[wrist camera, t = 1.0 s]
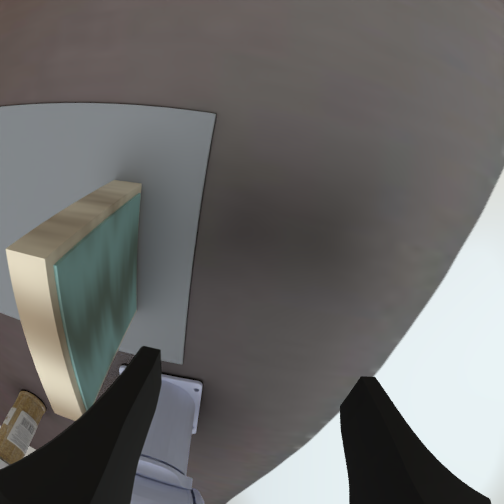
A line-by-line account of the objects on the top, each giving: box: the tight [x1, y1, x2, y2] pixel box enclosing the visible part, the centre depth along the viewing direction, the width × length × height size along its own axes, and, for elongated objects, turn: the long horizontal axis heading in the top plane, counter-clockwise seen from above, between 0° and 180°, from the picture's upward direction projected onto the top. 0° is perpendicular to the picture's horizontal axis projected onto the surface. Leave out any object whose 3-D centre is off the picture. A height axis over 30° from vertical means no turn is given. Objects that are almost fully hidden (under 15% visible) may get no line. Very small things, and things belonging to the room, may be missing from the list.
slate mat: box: [0, 103, 216, 364], centre depth 20 cm, size 20×22×1 cm
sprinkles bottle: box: [0, 391, 46, 469], centre depth 24 cm, size 5×5×14 cm
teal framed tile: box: [6, 180, 142, 421], centre depth 16 cm, size 10×2×11 cm, turn 169°
